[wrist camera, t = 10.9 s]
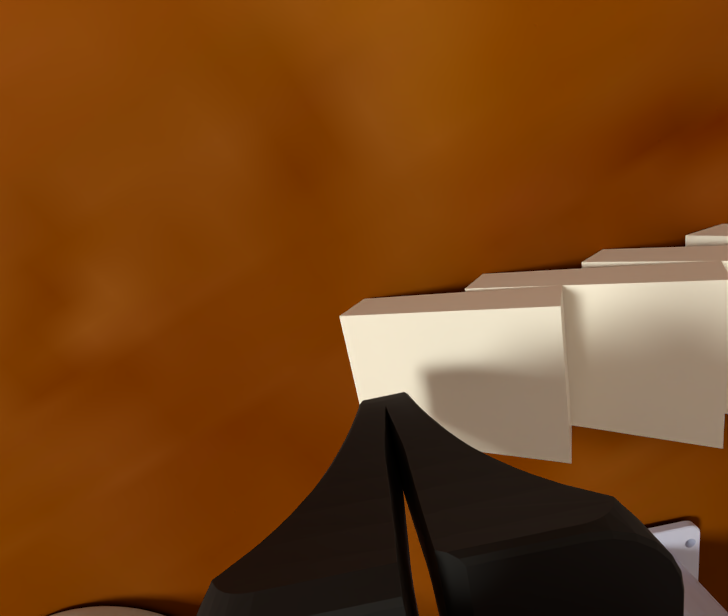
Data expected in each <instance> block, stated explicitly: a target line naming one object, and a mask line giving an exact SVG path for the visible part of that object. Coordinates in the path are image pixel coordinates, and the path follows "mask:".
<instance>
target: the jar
mask: <svg viewBox="0 0 728 616" xmlns="http://www.w3.org/2000/svg"><path fill="white" fill-rule="evenodd" d="M50 616H165V615H162V614H159V613H155V612H151V611H147V610H142V609H137V608H130V607H118V606H94V607H85V608H78V609H72V610H68V611H63V612H60V613H57V614H53V615H50Z"/></svg>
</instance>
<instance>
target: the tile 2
mask: <svg viewBox="0 0 728 616" xmlns="http://www.w3.org/2000/svg"><path fill="white" fill-rule="evenodd" d="M560 285H562V289H563V304H564V319H565V333H566V348H567V363H568V378H569V392H570V407H571V422H572V425H574V426H580V427H587V428H593V429H600V430H606V431H613V432H619V433H625V434H632V435H638V436H645V437H651V438H658V439H664V440H670V441H677V442H683V443H690V444H696V445H703V446H709V447H715V448H722V449H723V438H724V419H725V400H726V380H727V361H728V272H727V270H726V269H725V267H724V265H723V263H722V262H721V261H707V262H689V263H671V264H653V265H635V266H617V267H598V268H580V269H562V270H544V271H526V272H508V273H490V274H482V275H481V276H480V277H479V278H477V279H476V280H475V281H474V282H472V283H471V284H470V285H469V286H467V287H466V288H465V292H471V291H486V290H501V289H515V288H530V287H545V286H560Z"/></svg>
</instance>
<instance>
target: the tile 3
mask: <svg viewBox="0 0 728 616" xmlns="http://www.w3.org/2000/svg"><path fill="white" fill-rule="evenodd" d="M707 261H721V262H722V263H723V265H724V267H725V269H726V270H727V272H728V245H724V246H692V247H660V248H628V249H603V250H601V251H599V252H598V253H596V254H594V255H593V256H591V257H589V258H588V259H586V260H584V261H583V262H582V268H598V267H617V266H635V265H653V264H671V263H689V262H707ZM725 414H728V361H727V380H726V400H725Z"/></svg>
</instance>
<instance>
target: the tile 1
mask: <svg viewBox="0 0 728 616" xmlns="http://www.w3.org/2000/svg"><path fill="white" fill-rule="evenodd" d="M340 321H341V325H342V329H343V334H344V338H345V342H346V347H347V351H348V356H349V360H350V364H351V369H352V373H353V377H354V382H355V386H356V390H357V395H358V399H359V403H360V404H361V402H362V401H363V400H368V399H373V398H377V397H382V396H387V395H392V394H397V393H401V392H405V393H407V394H408V395H409V396H410V397H411V398H412V399H413V400H414V401H415V403H416V404H417V405H418V406H419V407H420V408H422V409H423V410H424V411H425V412H426V413H427V414H428V415H429V416H430V417H431V418H433V419H434V420H435V421H436V422H437V423H439V424H440V425H441V426H442V427H444V428H445V429H446V430H448V431H449V432H450V433H452V434H453V435H454V436H456V437H457V438H459V439H460V440H462V441H463V442H465V443H466V444H468V445H470V446H471V447H473V448H475V449H477V450H478V451H480V452H486V453H494V454H502V455H510V456H517V457H525V458H533V459H541V460H549V461H556V462H564V463H571V458H572V422H571V407H570V392H569V378H568V363H567V348H566V333H565V319H564V304H563V289H562V285H560V286H545V287H530V288H515V289H501V290H486V291H471V292H457V293H442V294H427V295H412V296H398V297H383V298H368V299H364V300H362V301H361V302H359V303H358V304H356V305H355V306H353V307H352V308H350V309H349V310H348V311H346V312H345V313H343V314H342V315H340Z"/></svg>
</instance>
